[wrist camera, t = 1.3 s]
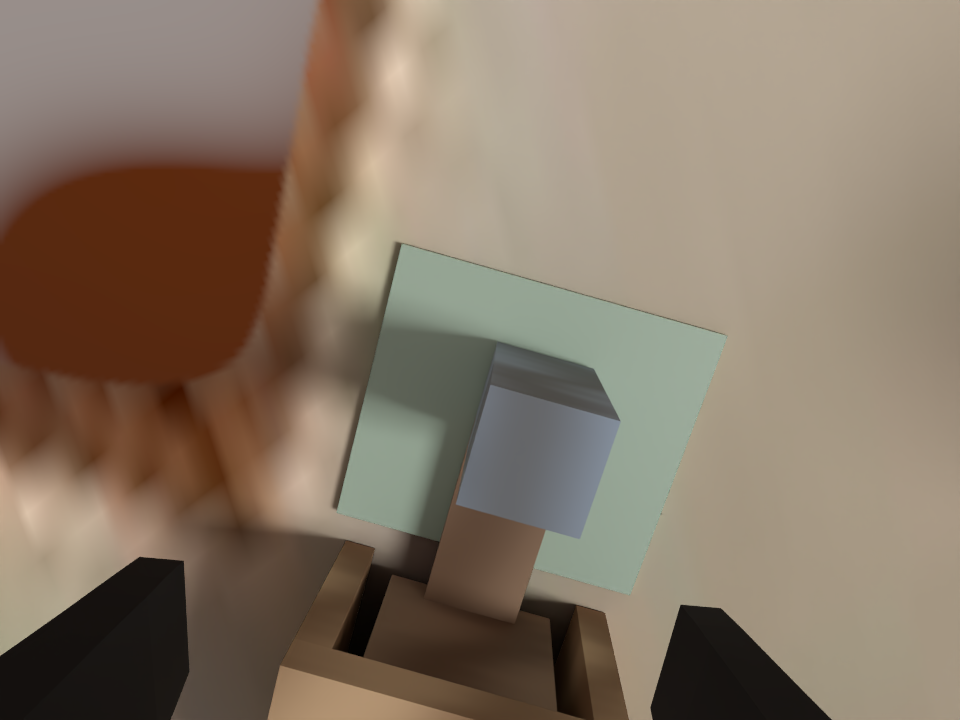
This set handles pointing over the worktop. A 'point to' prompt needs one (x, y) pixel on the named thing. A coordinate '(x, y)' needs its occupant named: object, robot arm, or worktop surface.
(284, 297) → the worktop surface
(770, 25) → the worktop surface
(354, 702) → the tunnel
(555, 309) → the pad
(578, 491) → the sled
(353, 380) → the worktop surface
